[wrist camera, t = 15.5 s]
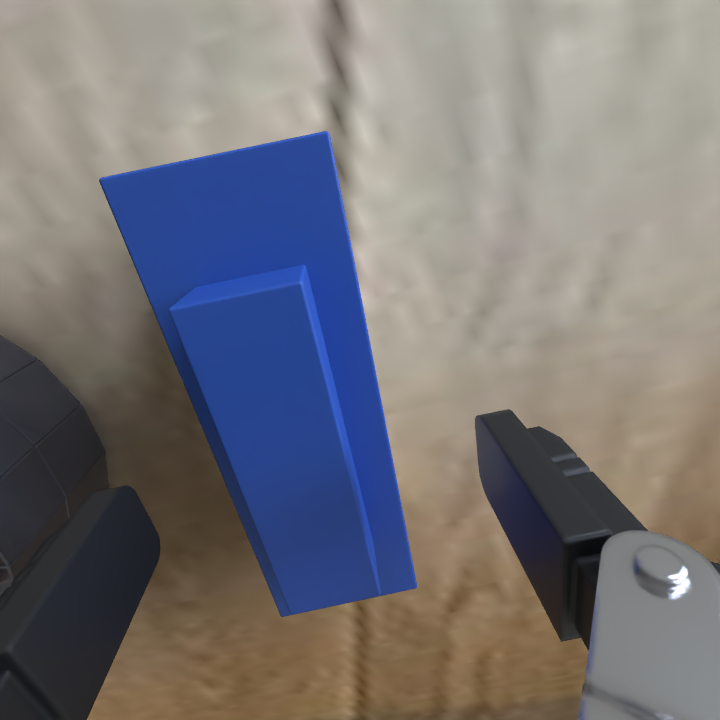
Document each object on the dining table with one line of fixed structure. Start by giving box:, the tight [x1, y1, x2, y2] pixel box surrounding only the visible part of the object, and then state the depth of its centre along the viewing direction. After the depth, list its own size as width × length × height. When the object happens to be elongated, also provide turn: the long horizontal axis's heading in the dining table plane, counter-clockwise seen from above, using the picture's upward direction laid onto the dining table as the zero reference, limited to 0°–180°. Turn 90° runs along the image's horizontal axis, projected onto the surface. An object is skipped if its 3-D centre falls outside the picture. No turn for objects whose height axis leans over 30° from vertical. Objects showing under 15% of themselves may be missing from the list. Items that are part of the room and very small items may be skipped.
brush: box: [99, 131, 417, 617], centre depth 12 cm, size 14×5×6 cm, turn 11°
